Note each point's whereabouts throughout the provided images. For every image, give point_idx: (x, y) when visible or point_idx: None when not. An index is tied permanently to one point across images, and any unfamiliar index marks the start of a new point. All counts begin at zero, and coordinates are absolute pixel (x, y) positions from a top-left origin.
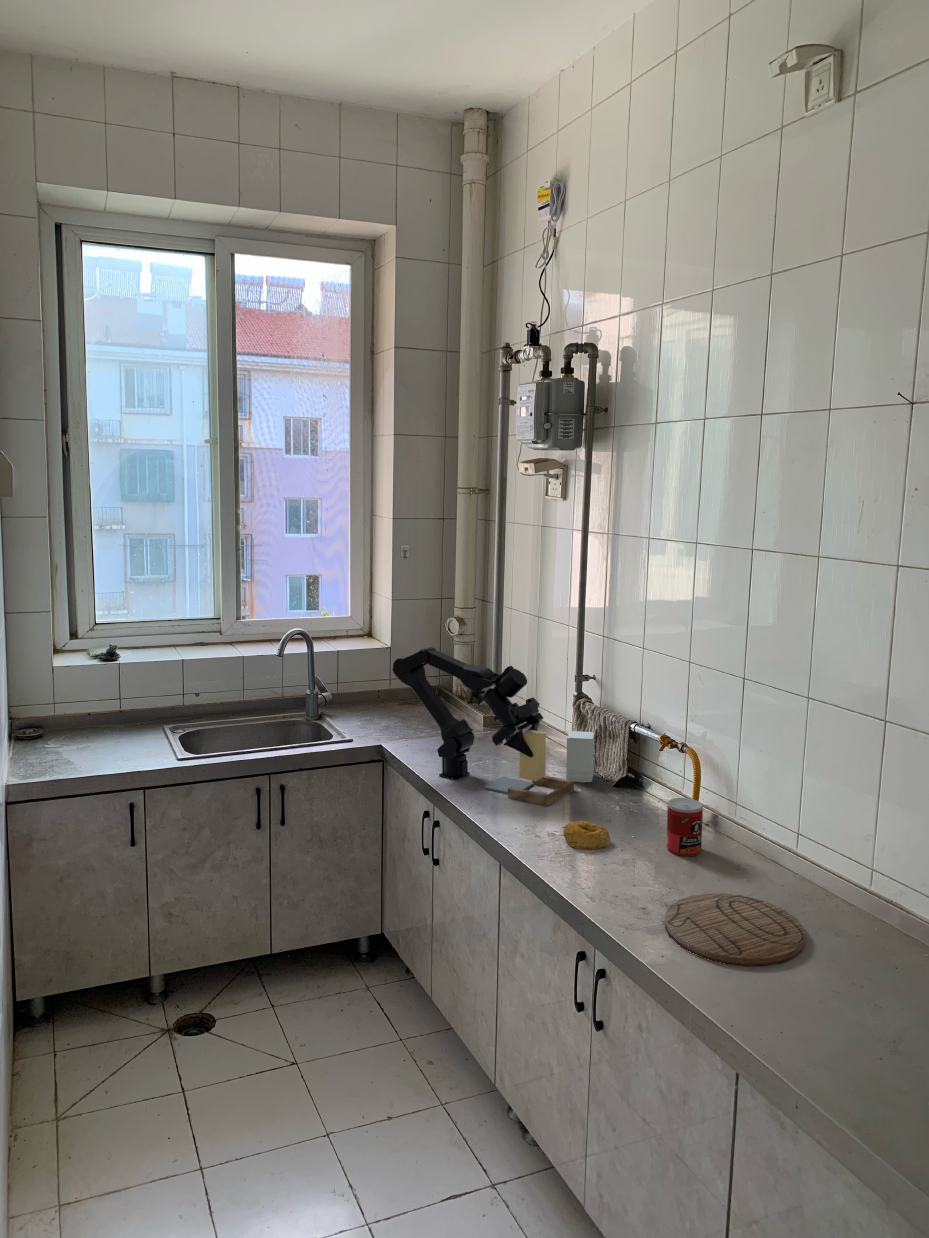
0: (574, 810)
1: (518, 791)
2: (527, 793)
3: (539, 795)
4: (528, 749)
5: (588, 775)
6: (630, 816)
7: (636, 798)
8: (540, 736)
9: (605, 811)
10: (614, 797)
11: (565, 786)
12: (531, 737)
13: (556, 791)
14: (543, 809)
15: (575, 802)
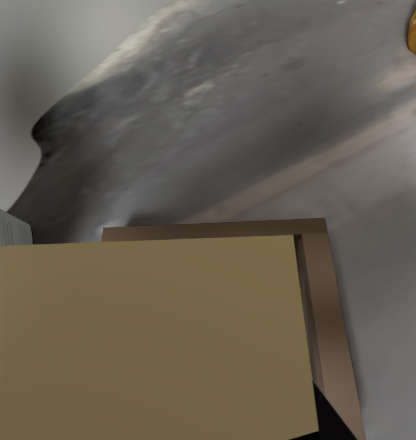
0: (288, 153)
1: (353, 380)
2: (343, 322)
3: (331, 258)
4: (328, 401)
5: (12, 224)
6: (235, 49)
7: (112, 88)
8: (105, 249)
9: (240, 95)
10: (129, 124)
11: (173, 225)
12: (314, 415)
13: (246, 223)
14: (352, 230)
15: (224, 182)
